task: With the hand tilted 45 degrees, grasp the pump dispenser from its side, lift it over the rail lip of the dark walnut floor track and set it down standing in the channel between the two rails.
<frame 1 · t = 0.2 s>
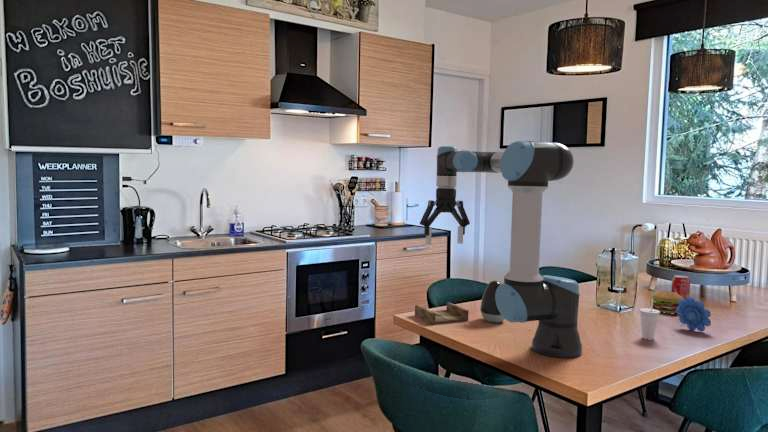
hand: (444, 243, 215), 28 cm above the table, tool pointing down, fingers open, 13 cm apart
grapes: (691, 331, 204), on the table
track: (441, 318, 213), on the table
soda can: (679, 303, 247), on the table
smoothie: (647, 338, 193), on the table
pump dispenser: (494, 321, 211), on the table
food: (668, 311, 233), on the table
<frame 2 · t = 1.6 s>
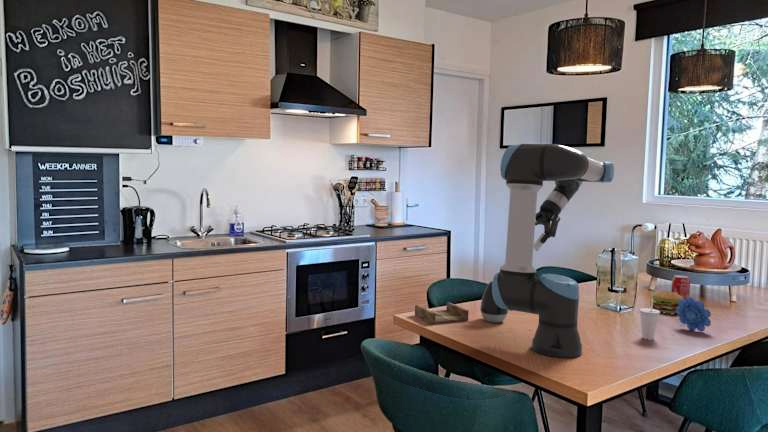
hand: (522, 246, 215), 28 cm above the table, tool tilted 45°, fingers open, 13 cm apart
nothing on the table moved.
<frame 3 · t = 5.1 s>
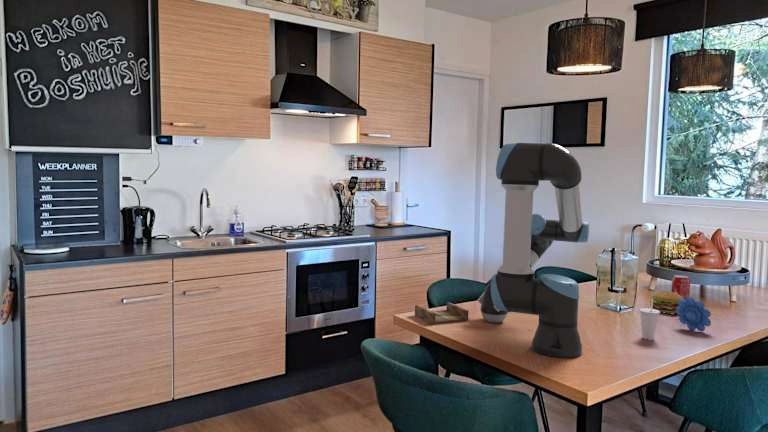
hand: (487, 305, 210), 6 cm above the table, tool tilted 45°, fingers closed on pump dispenser, 10 cm apart
pump dispenser: (494, 321, 211), on the table, touching gripper
everything else where it was.
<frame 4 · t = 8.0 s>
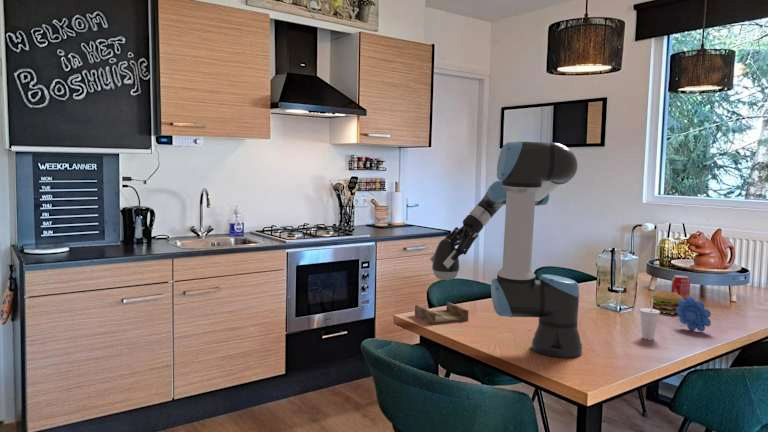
hand: (438, 263, 211), 21 cm above the table, tool tilted 45°, fingers closed on pump dispenser, 10 cm apart
pump dispenser: (445, 279, 213), point 15 cm above the table, touching gripper
everything else where it was.
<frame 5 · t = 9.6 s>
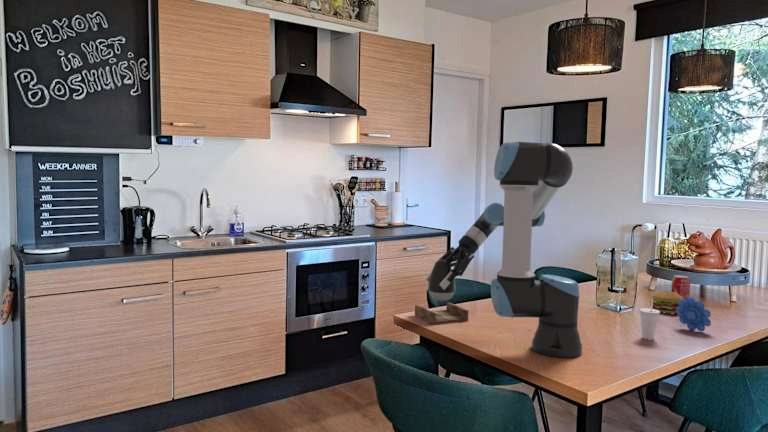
hand: (434, 284, 212), 13 cm above the table, tool tilted 45°, fingers closed on pump dispenser, 10 cm apart
pump dispenser: (441, 299, 213), point 7 cm above the table, touching gripper
everything else where it was.
when the fingers open (8 cm above the table, at t = 11.0 s): pump dispenser drops 1 cm, resting on track.
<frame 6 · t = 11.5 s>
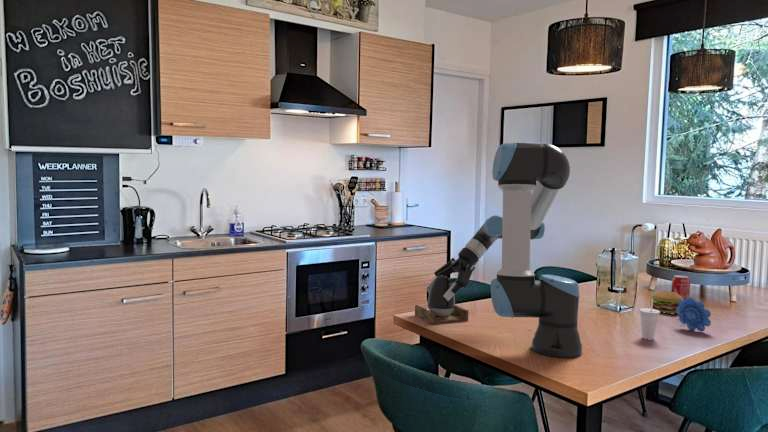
hand: (436, 294, 212), 9 cm above the table, tool tilted 45°, fingers open, 13 cm apart
pump dispenser: (441, 315, 213), point 1 cm above the table, touching track
everything else where it was.
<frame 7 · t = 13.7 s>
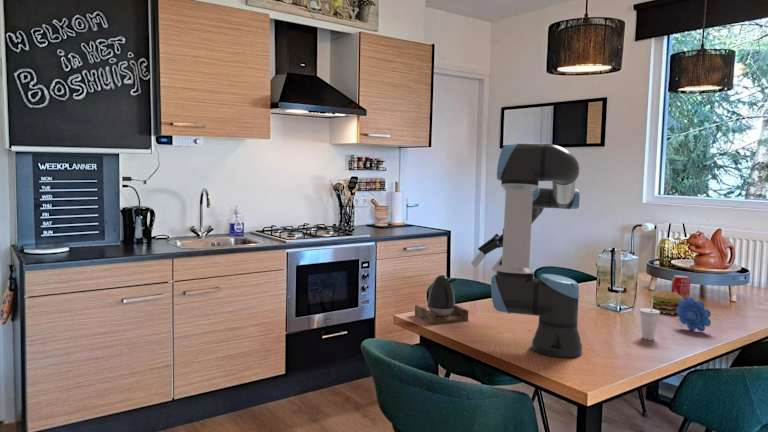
hand: (483, 268, 218), 18 cm above the table, tool tilted 45°, fingers open, 13 cm apart
nothing on the table moved.
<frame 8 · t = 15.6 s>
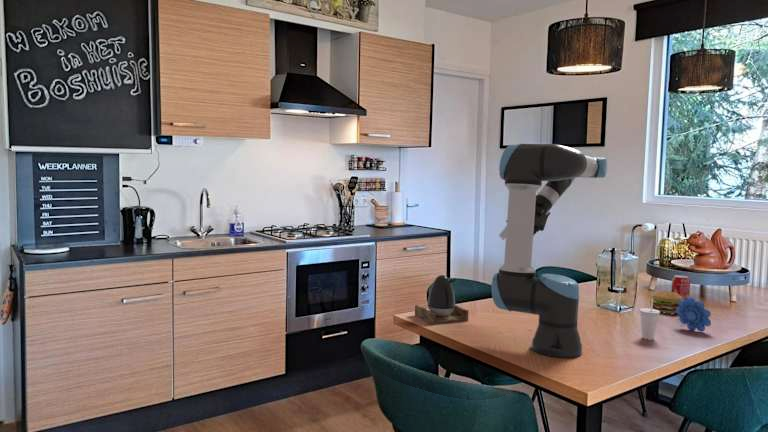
hand: (511, 239, 217), 30 cm above the table, tool tilted 45°, fingers open, 13 cm apart
nothing on the table moved.
at the end: pump dispenser inside the target area on the track (0.1 cm from its centre), point 1.0 cm above the track's base; pump dispenser tilted 0°; the gripper is holding nothing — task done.
